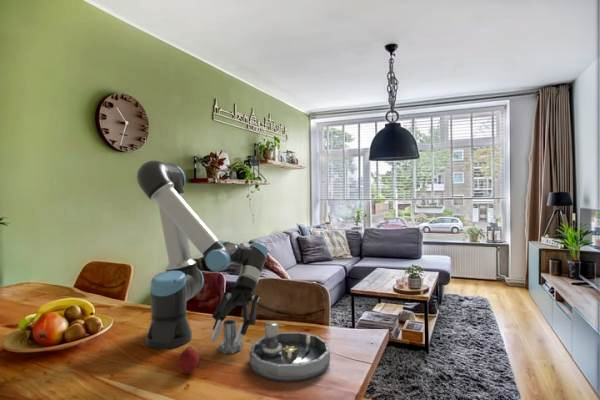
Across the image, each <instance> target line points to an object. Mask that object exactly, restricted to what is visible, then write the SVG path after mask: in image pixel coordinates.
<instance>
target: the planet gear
mask: <svg viewBox="0 0 600 400" xmlns="http://www.w3.org/2000/svg"><path fill="white" fill-rule="evenodd" d="M222 323H223V326H222V330H223V334H222V335H223V340H221V341H219V344H218V345H217V346H218V352H219V353H220V352H221V353H222V354H224V355H226V354H232V355H233V354H236V353H237V352H240V351H242V348H243V340H241V342H240V345H239V346H238V345H237V344H236V343H235V342H234V341H235V338H236V335H237V333H238V321H237V320H235V319H228V320H223V322H222Z"/></svg>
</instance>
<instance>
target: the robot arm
mask: <svg viewBox="0 0 600 400" xmlns="http://www.w3.org/2000/svg"><path fill="white" fill-rule="evenodd" d="M186 179H187V178H186V174H185V172H184V171H183V169H182V168H181V167H180V166H178V165H176V164H174V163H172V162H164V161H158V160H149V161H145V162H144V163H143V164H142V165H141V166H140V167H139V169H138V170H137V174H136V181H137V183H138V186H139V188H140V189H141V190H142V191H143V193H144V194H145V196H146V197H147V198H148V199H149V201H151V202H155V203H157V205H158V209H159V214H160V216H159V217H160V221H161V226H162V227H161V228H162V232H163V237H164V241H165V242H164V244H165V248H166V253H167V255H166V256H167V259H168V264H167V266H166V267H165V271H164V272H160V273H157V274H155V275H154V276H153V277H152V278H151V281H150V288H149V290H150V310H151V312H150V314H151V317H150V319H151V320H150V324H149V328H148V331H147V333H146V336H145V337H146V338H145V344H146V346H147V347H148V348H152V349H156V350H157V349H158V350H166V349H172V348H177V347H180V346H183V345H185V344H187V343H188V342H190V341H191V340H192V337H193V334H192V328H191V326H190V323H189V320H188V317H187V302H188V301H189V300H190V299H192V298H194V297H195V296H196V295H198V294H199V292H200V291H201V289H202V288H203V286H204V281H205V279H204V278H205V277H204V275H203V272H202V271H201V270H200V269H199V268H198V264H197V261H196V260H194V259H193V258H192V253H191V249H190V247H191V246H190V242H191V243H192V245H194V247H195V248H196V249H197V250H198V252H199V253H200V254H201V255H202V256H203V257H204V258H205V264H206V267H207V268H208V269H209V270H210V271H213V272H217V273H218V272H221V271H224V270H226V269H228V268H229V266H231V265H236V266H237V265H238V266H240V267H241V269H240V271H239V273H238V278H237V279H236V281H235V284H234V287H233V290H232V291H231V292H227V291H224V292H223V295H222V298H221V300H220V301H219V303H218V305H217V306H216V309H215V310H214V312H213V314H212V316H211V317H212V318H213V319H214V320H215V321H214V324H213V328H212V330H213V332H212V333H211V337H210V340H212V342H214V343H217V342H218V338H219V336H220V333H221V331H222V329H223V323H224V321H225V319H226V318H227V316H229V314H230V312H231V311H232V310H233V309H234V308H236V307H237V306H241V307H242V317H243V318H242V319H243V320H242V321H243V322H240V324H239V328H238V329H237V335H236V338H235V341H234V342H235V343H236V344H237V345H238V346H239V345H240V342H241V341H242V340H243V336H245V335H246V334H247V331H248V328H249V326H254V325H255V324H256V320H257V313H258V307H259V303H260V301H261V298H260V296H259V295H258V294H256V295H254V294H255V292H256V290H257V285H258V283H259V280H260V277H261V275H262V272H263V269H264V267H265V263H266V261H267V257H268V253H269V249H268V247H267V246H266V245H265V244H263V243H261V242H252V243H251V244H250V245H249V246H244V245H241V244H237V243H234V242H230V241H225V240H219V238H218V237H217V235H216V234H214V233H213V231H212V230H211V229H210V228H209V227H208V226H207V224H205V222H204V221H203V220H202V219H201V218H200V216H198V214H197V213H196V212H195V211H194V210H193V208H192V207H190V205H189V204H188V203H187V201H186V200H185V199H184V198H183V196H184V195H185V192H184V187H185V184H186V182H187V181H186ZM189 241H190V242H189ZM250 302H252V303H251V306H250V307H249V303H250ZM249 308H250V312H249Z"/></svg>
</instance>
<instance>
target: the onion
mask: <svg viewBox="0 0 600 400" xmlns="http://www.w3.org/2000/svg"><path fill="white" fill-rule="evenodd" d="M192 347H193V346H192V345H190V344H189V345H187V346H186V349H184V350H183V351H181V353H180V354H179V357H178V361H177V363H178V367H179V369H180V370H181V371H182V372H184V373H186V374H191V373H192V372H193V371H195V369H197V367H199V364H200V354H199V353H198V352H197V350H195V348H192Z"/></svg>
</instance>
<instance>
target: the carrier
mask: <svg viewBox="0 0 600 400" xmlns="http://www.w3.org/2000/svg"><path fill="white" fill-rule="evenodd" d="M330 362H331V351H330V346H329V341H327V340H326V339H323V338H321V337H320V336H318V335H315V334H311V333H306V332H301V331H300V332H299V331H295V332H292V331H291V332H290V331H286V332H284V331H283V332H282V331H281V332H279V322H277V321H268V322H265V324H264V335H263V336H262V337H260V338H259V339H257V340H255V341H254V342H253V343H251V347H250V350H249V363H250V368H251V370H252V372H253V373H254V374H255V375H257V376H258V377H259V378H262V379H264V380H267V381H271V382H278V383H298V382H299V383H301V382H304V381H309V380H312V379H315V378H318V377H319V376H322V375H323V374H324V373H326V371H327V370H329V366H330Z"/></svg>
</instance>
